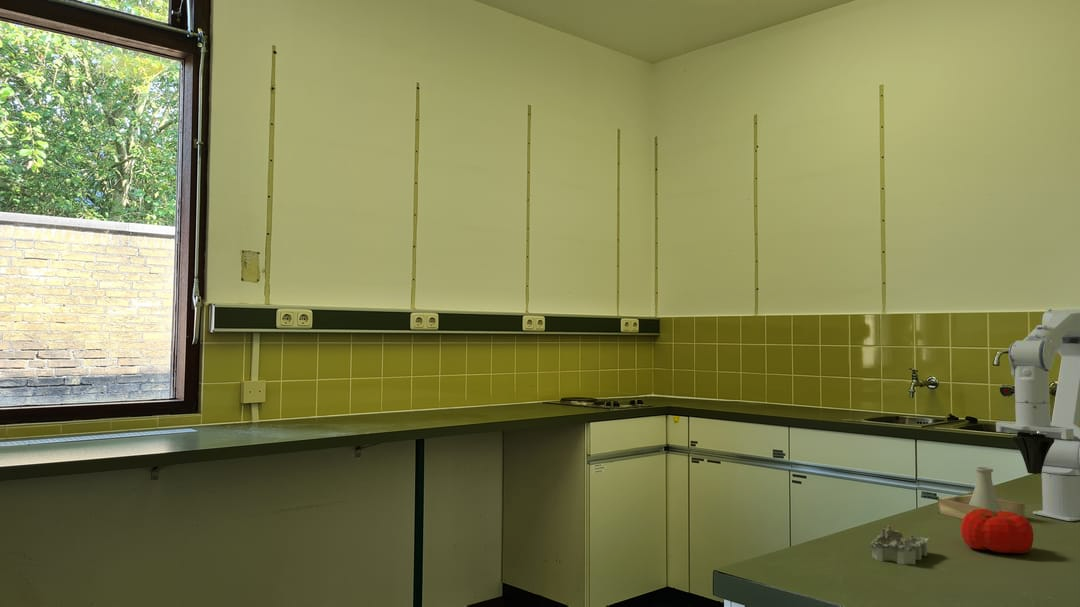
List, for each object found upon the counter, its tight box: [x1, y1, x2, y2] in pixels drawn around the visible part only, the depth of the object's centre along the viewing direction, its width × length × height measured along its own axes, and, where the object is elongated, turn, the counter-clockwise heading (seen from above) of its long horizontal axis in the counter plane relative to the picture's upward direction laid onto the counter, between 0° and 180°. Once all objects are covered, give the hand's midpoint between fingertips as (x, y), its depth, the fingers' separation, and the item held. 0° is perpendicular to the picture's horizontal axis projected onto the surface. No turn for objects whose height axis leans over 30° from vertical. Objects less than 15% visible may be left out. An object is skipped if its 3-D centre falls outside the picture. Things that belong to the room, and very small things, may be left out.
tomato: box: [960, 509, 1035, 555], centre depth 138 cm, size 10×11×6 cm
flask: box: [969, 466, 1002, 512], centre depth 164 cm, size 7×7×10 cm
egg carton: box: [868, 525, 930, 566], centre depth 135 cm, size 11×8×4 cm
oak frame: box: [937, 494, 1026, 520], centre depth 164 cm, size 11×11×3 cm
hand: (1034, 473), depth 154 cm, fingers closed
